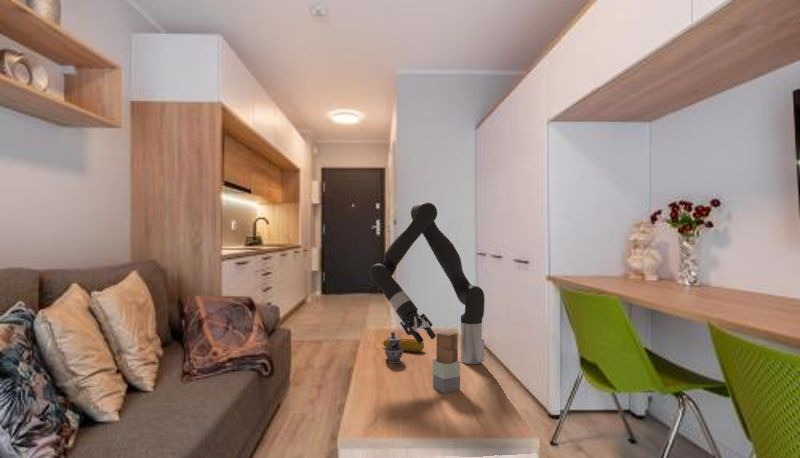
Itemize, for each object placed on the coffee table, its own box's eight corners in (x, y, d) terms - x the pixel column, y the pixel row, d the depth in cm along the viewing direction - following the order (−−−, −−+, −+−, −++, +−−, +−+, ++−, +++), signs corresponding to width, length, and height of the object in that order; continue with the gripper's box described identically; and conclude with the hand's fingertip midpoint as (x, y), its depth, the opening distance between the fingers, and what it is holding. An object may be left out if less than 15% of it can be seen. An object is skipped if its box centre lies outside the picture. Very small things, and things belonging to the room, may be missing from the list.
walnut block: (444, 357, 159) (444, 330, 159) (457, 360, 155) (457, 332, 155) (436, 361, 154) (436, 333, 154) (449, 364, 151) (449, 335, 151)
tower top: (448, 370, 160) (448, 357, 160) (459, 376, 153) (459, 362, 154) (432, 373, 156) (432, 359, 156) (443, 379, 150) (443, 365, 150)
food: (424, 351, 205) (424, 338, 205) (420, 354, 200) (420, 341, 200) (385, 346, 213) (385, 334, 214) (380, 349, 208) (380, 337, 208)
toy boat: (381, 356, 194) (382, 327, 193) (398, 355, 196) (399, 327, 195) (387, 369, 180) (388, 338, 179) (405, 368, 181) (406, 337, 180)
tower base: (448, 384, 159) (448, 370, 160) (460, 390, 153) (460, 376, 153) (432, 387, 156) (432, 373, 156) (443, 393, 150) (443, 379, 150)
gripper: (397, 302, 159) (423, 337, 152) (419, 297, 171) (444, 330, 164) (386, 314, 163) (411, 350, 156) (408, 309, 174) (432, 342, 167)
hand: (428, 339), depth 160 cm, fingers open, 8 cm apart
